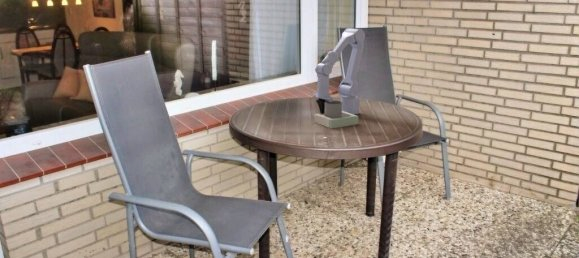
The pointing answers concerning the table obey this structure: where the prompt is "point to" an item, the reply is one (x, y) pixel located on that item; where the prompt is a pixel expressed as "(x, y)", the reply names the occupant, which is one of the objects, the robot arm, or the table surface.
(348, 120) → the stall
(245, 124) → the table surface
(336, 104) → the cup
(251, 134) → the table surface
